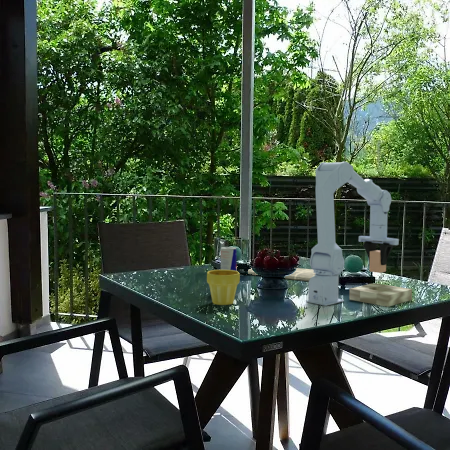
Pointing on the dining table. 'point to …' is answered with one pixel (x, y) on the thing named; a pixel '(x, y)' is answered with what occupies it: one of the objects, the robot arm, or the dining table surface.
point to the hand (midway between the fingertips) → (377, 264)
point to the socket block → (380, 294)
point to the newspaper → (295, 274)
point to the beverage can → (228, 258)
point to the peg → (376, 262)
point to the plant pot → (223, 285)
